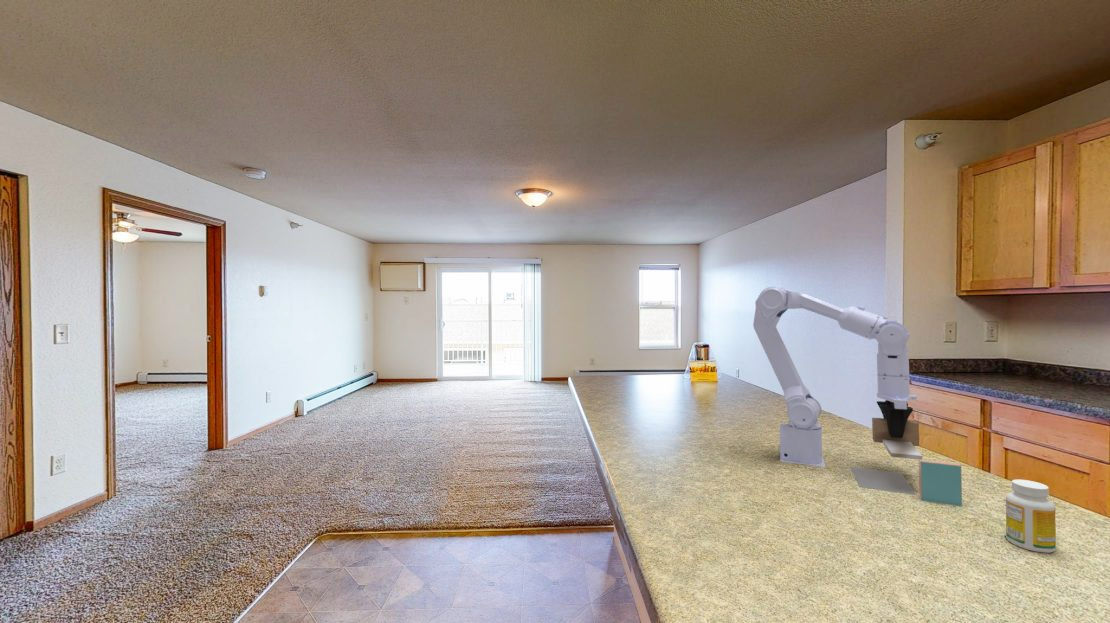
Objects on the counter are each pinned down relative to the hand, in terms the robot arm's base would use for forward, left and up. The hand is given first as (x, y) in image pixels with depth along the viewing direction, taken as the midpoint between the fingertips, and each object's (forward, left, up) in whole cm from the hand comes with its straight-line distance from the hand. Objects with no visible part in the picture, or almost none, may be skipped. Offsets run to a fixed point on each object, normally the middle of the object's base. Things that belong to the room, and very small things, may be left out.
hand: (894, 435), depth 100 cm
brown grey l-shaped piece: (0, -4, -2) cm, 4 cm away
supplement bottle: (+12, -27, -9) cm, 31 cm away
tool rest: (-4, -5, -9) cm, 11 cm away
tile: (+4, -14, -9) cm, 17 cm away
